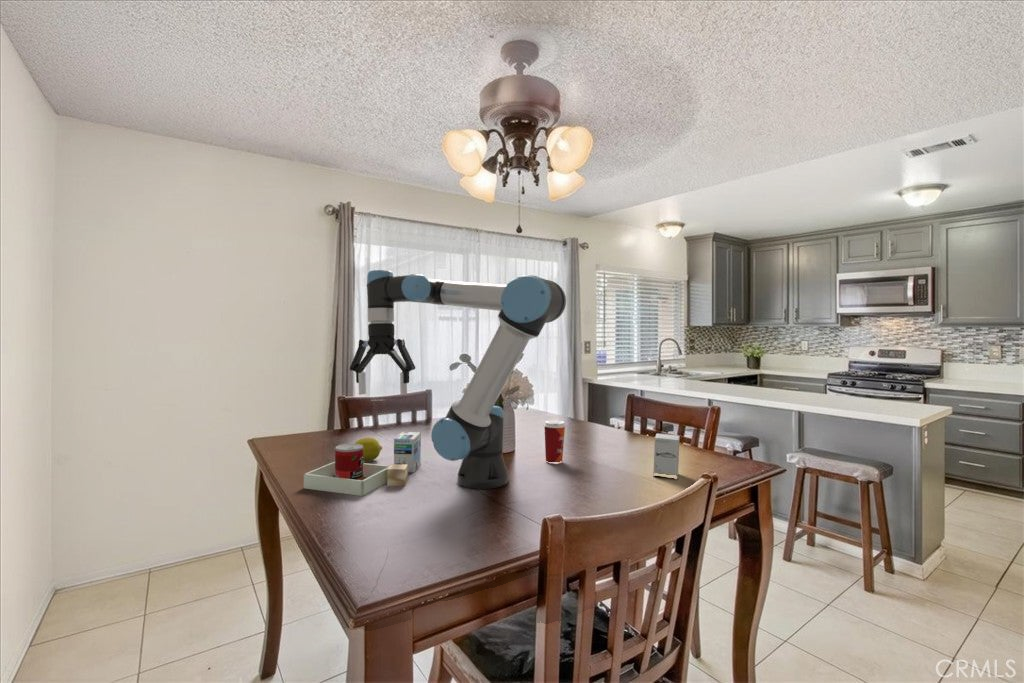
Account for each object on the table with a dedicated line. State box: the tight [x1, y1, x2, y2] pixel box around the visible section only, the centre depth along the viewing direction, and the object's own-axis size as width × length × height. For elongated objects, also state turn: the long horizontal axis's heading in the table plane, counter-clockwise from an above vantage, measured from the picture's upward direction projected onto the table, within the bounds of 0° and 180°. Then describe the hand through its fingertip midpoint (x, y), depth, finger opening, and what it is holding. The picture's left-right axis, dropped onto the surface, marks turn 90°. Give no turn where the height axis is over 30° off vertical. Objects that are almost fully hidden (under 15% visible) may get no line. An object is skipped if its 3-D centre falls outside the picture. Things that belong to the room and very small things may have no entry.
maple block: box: [386, 463, 409, 487], centre depth 142 cm, size 5×5×5 cm
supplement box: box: [653, 433, 681, 476], centre depth 154 cm, size 7×7×13 cm
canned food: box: [334, 443, 364, 480], centre depth 141 cm, size 8×8×11 cm
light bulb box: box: [393, 431, 422, 473], centre depth 158 cm, size 11×7×11 cm, turn 179°
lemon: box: [353, 437, 383, 462], centre depth 165 cm, size 11×8×8 cm
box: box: [303, 461, 390, 497], centre depth 141 cm, size 19×15×4 cm
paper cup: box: [543, 419, 566, 462], centre depth 167 cm, size 8×8×14 cm
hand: (382, 394), depth 144 cm, fingers open, 13 cm apart
